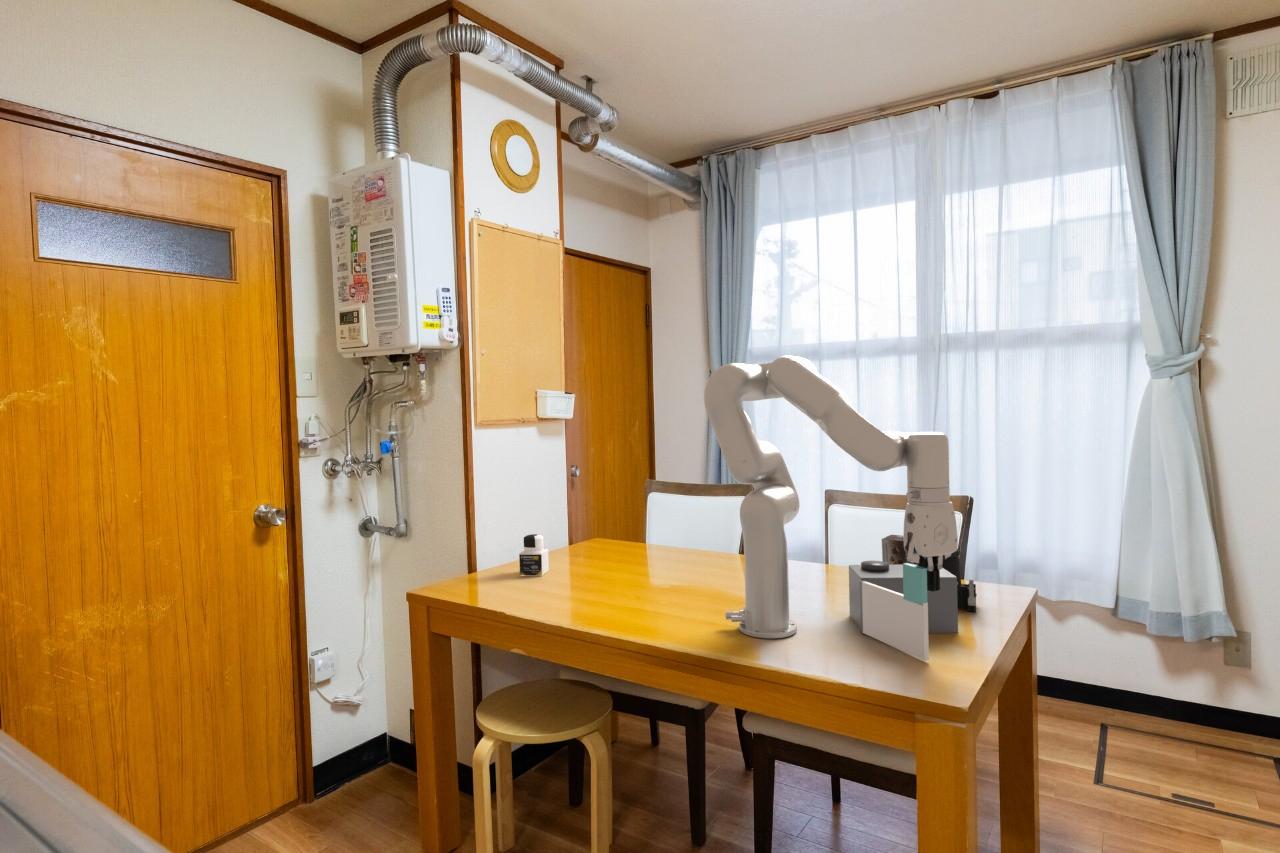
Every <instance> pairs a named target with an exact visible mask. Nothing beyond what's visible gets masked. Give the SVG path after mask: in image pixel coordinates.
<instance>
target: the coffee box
mask: <svg viewBox="0 0 1280 853" xmlns="http://www.w3.org/2000/svg"><path fill="white" fill-rule="evenodd" d="M881 551H882V552H881V553H882V562H887V563H889V565H903V564H905V563H909V564H916V563H914V562H910V561H908V560H907V556H908V553H907V552H906V551H905V549H904V535H901V534H900V535H898V534H890V535H887V536H884V537H883V538H881ZM925 559H926V558H925Z"/></svg>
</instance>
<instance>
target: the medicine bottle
mask: <svg viewBox="0 0 1280 853" xmlns="http://www.w3.org/2000/svg"><path fill="white" fill-rule="evenodd" d="M544 547H545V546H544V536H543V535H541V534H537V533H536V534H527V535H525V536H524V537H523V550H522V551H521V552H519V558H518V559H519V576H520V575H527V576H526V577H543V576H545V575H546V574H547V573H548V572H549V571H550V570H549V568H550V567H549V565H550V564H549V562H550V561H549V549H548V548H544ZM546 572H547V573H546ZM542 575H543V576H542Z"/></svg>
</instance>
